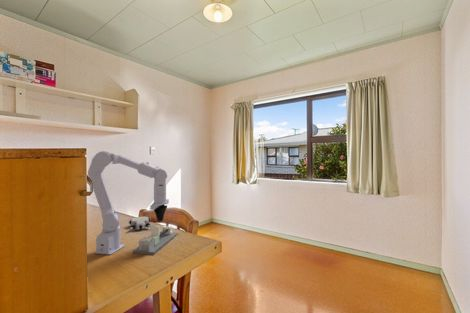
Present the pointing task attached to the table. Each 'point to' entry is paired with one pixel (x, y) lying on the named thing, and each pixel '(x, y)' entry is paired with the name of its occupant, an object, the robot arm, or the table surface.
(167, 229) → the dark grey bar
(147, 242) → the connector
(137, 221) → the robot toy
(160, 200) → the robot arm
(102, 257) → the table surface
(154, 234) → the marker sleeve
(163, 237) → the board
